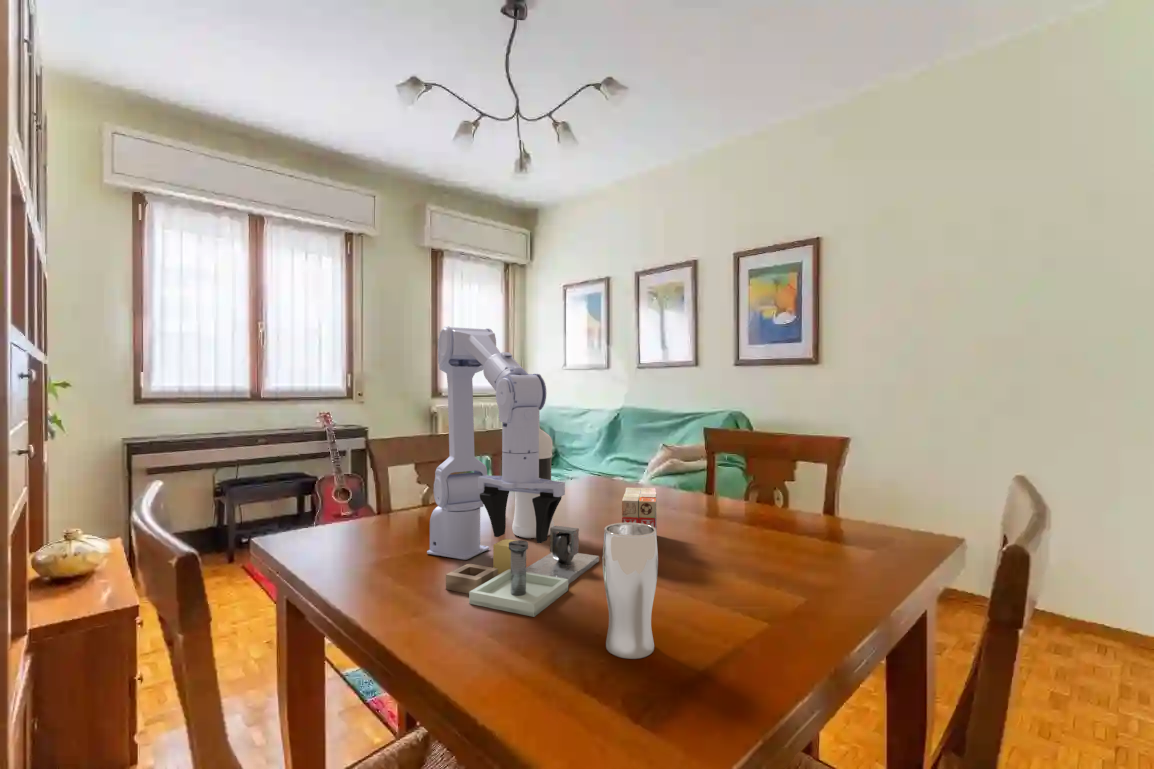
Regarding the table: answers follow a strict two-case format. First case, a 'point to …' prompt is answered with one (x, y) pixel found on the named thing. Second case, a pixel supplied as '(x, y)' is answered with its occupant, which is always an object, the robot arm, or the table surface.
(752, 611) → the table surface
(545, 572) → the trolley wheel
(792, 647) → the table surface
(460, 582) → the socket
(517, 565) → the pin
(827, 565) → the table surface
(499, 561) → the pale yellow cube
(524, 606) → the tray
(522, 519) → the vodka
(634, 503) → the stack of blocks
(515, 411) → the robot arm
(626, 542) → the beer glass
